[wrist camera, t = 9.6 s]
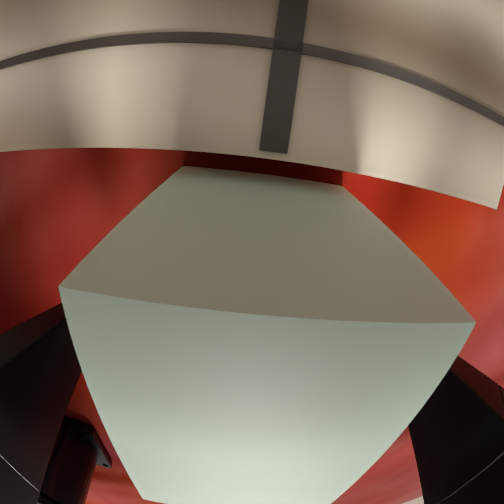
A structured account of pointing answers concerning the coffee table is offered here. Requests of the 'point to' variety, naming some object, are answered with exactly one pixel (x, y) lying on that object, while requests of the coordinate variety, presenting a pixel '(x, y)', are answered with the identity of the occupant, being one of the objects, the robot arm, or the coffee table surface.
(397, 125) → the birch board
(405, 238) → the coffee table surface
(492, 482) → the robot arm
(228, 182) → the block
